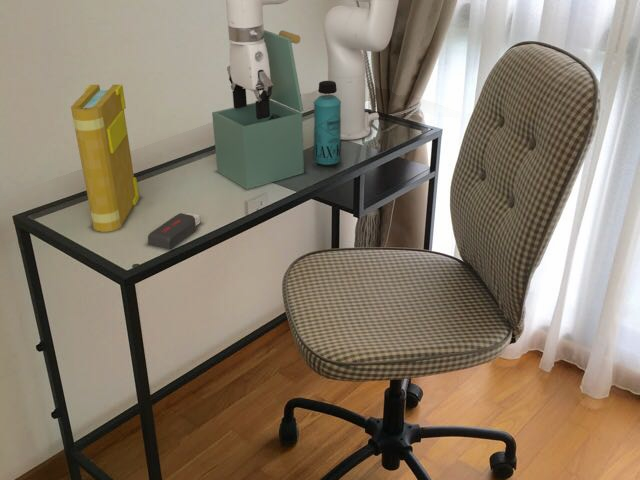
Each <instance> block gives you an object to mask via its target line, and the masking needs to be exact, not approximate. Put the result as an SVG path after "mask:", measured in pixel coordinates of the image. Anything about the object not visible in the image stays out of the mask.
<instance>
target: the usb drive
mask: <svg viewBox="0 0 640 480" xmlns="http://www.w3.org/2000/svg"><path fill="white" fill-rule="evenodd" d="M199 224H201V220H200V215H199V214H195V213H190V212H185V213H180V212H179V213H178V214H176V215H174V216H173V217H171V218H170V219H168V220H167V221H165V222H164V223H163V224H161V225H160V226H157V228H155V229H154V230H152V231H151V232H150V233H148V235H147V244H148V245H151V246H155V247H159V248H164V249H167V250H172V249H173V248H174V247H176V246H177V245H179V244H180V243H182V242H183V241H185V240H186V239H187V238H189V237H190V236H191V235H192V234H194V233H195V232H196V230H197V226H198V225H199Z"/></svg>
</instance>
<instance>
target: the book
mask: <svg viewBox="0 0 640 480" xmlns="http://www.w3.org/2000/svg"><path fill="white" fill-rule="evenodd" d="M70 109H71V114H72V121H73V126H74V131H75V137H76V142H77V147H78V153H79V158H80V162H81V163H80V164H81V169H82V174H83V179H84V184H85V188H86V189H85V190H86V194H87V200H88V205H89V211H90V212H89V213H90V217H91V221H92V227H93V229H94V230H95V231H97V232H103V233H104V232H105V233H106V232H107V233H108V232H113V231H116V230H119V229H120V228H121V227H122V226H123V224H124V222H125V220H126V219H127V217H128V215H129V213H130V212H131V210H132V208H133V206H136V205H137V203H138V201H139V199H140V193H139V187H138V179H137V177H135V173H134V167H133V161H132V155H131V148H130V141H129V133H128V128H127V122H126V120H127V119H126V114H125V110H126V109H127V106H126V100H125V93H124V86H123V84H112V85H111V86H110V87H109V89H101V87H100V84H89V85H88V86H86V88H85V89H84V93H83V94H82V95H81V96H80V97H79V98H77V100H75V102H74V103H73V104H72V105H71V106H70Z"/></svg>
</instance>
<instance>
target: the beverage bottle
mask: <svg viewBox="0 0 640 480" xmlns="http://www.w3.org/2000/svg"><path fill="white" fill-rule="evenodd" d="M336 91H337V89H336V83H335V82H334V81H328V80H322V81H319V82H318V93H319V94H323V95H319V96H318V97H317V98H315V100H314V101H313V111H314V113H313V115H314V117H313V118H314V119H313V122H314V123H313V124H314V125H313V159H314V160H315V163H317V164H319V165H329V166H330V165H335V164H337V163H339V162H340V161H341V157H342V155H341V154H342V140H340V138H341V119H340V117H341V101H340V100H339V99H338V98H337V97H336V96H334V95H328V94H332V93H335V92H336Z"/></svg>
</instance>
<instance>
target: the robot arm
mask: <svg viewBox="0 0 640 480" xmlns="http://www.w3.org/2000/svg"><path fill="white" fill-rule="evenodd" d="M288 1H289V0H225V4H226V19H227V29H228V30H227V31H228V41H229V66H227V67H226V71H227V75H228V81H229V82H230V84H231V85H230V89H231V90H232V103H233V108H236V109H237V108H241V107H245V106H247V104H248V102H247V90H249V91H251V92H253V93H254V96H255V98H256V101H255V102H254V103H256V118H257V119H263V118H267V117H269V116H270V107H269V100H271V99H270V96H271V94H272V92H271V91H272V88H273V83H272V82H271V77H270V67H269V59H268V53H267V48H266V44H265V42H264V30H265V28H264V14H263V13H264V11H263V9H264V8H263V6H267V5H268V6H269V5H281V4H284V3H286V2H288ZM399 1H400V0H354V2H363V3H369V8H366V7H360V6H353V5H347V4H346V5H345V4H343V5H337V6H334V7H332V8H330V9H329V10H328V11H327V12H326V14H325V16H324V19H323V23H322V24H323V26H322V28H323V35H324V40H325V45H326V52H327V53H326V54H327V81H334V82H335V83H336V89H337V91H336V92H335V93H332V94H327V95H334V96H336V97H337V98H338V99H339V100H340V101H341V117H340V119H341V138H340V140H341V141H349V140H351V141H353V140H358V139H362V138H366V137H367V136H368V135H370V133H371V126H370V125H369V124H370V122H373V121H378V120H379V118H380V115H379V112H372V113H369V112H368V111H366V59H365V57H364V54H363V52H362V51H366V52H372V53H380V52H382V51H383V50H385V49H386V48H387V47H388V45H389V43H390V41H391V38H392V35H393V31H394V27H395V21H396V16H397V12H398V11H397V10H398V5H399ZM260 91H262V92H261V93H260Z"/></svg>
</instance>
